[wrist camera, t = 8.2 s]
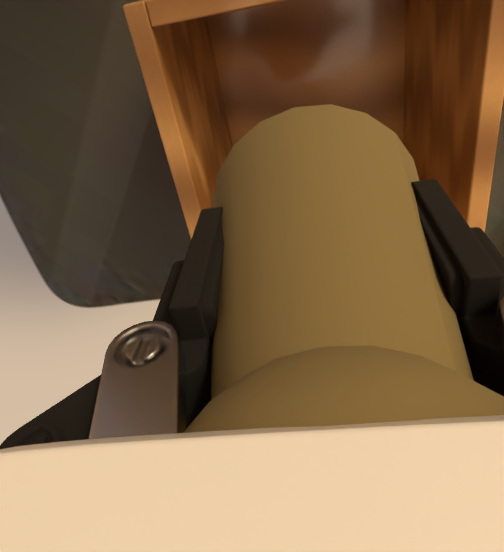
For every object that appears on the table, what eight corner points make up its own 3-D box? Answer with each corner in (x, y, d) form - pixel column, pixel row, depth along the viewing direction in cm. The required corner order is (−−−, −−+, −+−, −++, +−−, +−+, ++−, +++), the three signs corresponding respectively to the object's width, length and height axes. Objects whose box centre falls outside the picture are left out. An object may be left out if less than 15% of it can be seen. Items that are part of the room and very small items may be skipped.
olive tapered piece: (277, 317, 15) (270, 803, 6) (170, 177, 13) (-101, 695, 4) (450, 241, 13) (790, 809, 4) (367, 54, 11) (842, 569, 2)
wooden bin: (188, -12, 25) (121, 5, 15) (418, -62, 23) (529, -82, 13) (238, 215, 33) (217, 330, 23) (411, 192, 31) (474, 306, 21)
